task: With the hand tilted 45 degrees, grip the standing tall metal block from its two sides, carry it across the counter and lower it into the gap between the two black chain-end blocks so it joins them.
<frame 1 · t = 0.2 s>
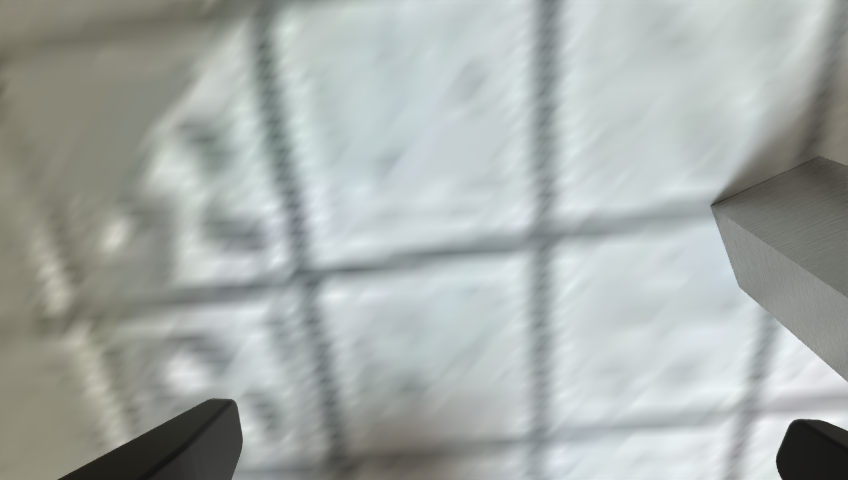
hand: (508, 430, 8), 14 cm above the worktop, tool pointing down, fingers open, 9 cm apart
tall metal block: (777, 225, 22), on the worktop
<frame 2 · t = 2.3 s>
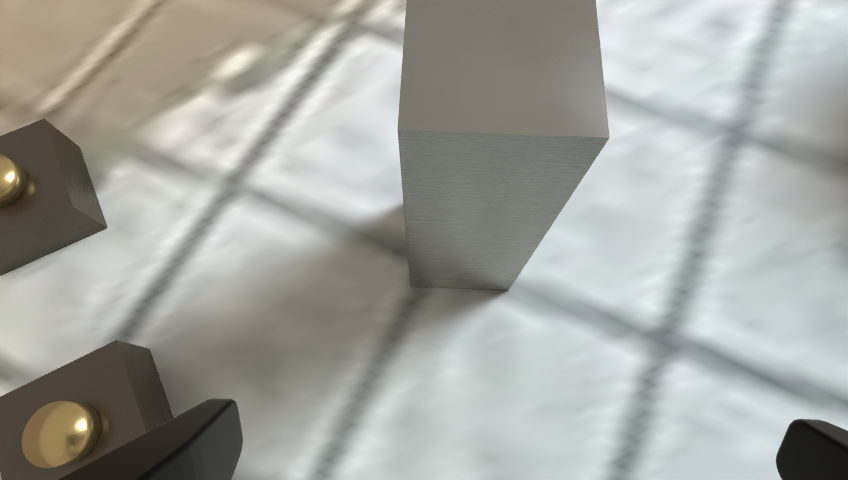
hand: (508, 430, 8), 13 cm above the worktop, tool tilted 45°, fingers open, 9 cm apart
tall metal block: (460, 242, 24), on the worktop
chain ends: (73, 311, 22), on the worktop
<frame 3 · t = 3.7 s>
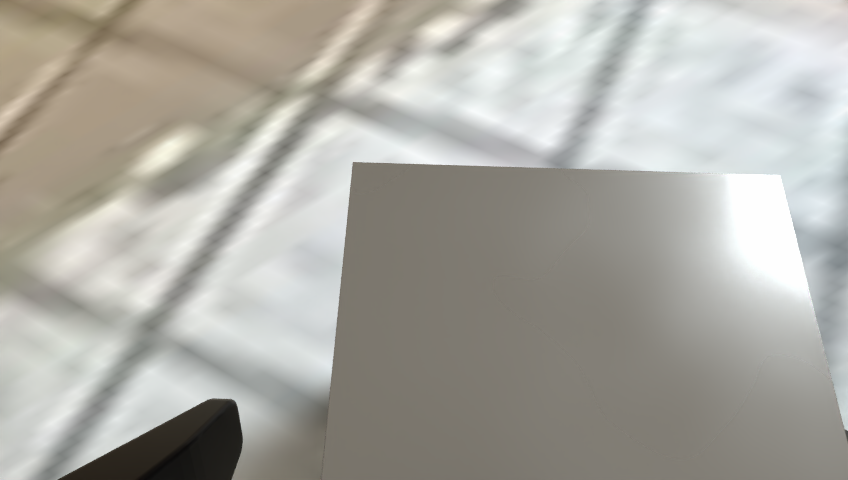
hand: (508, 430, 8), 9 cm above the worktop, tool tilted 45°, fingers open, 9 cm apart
tall metal block: (466, 421, 17), on the worktop
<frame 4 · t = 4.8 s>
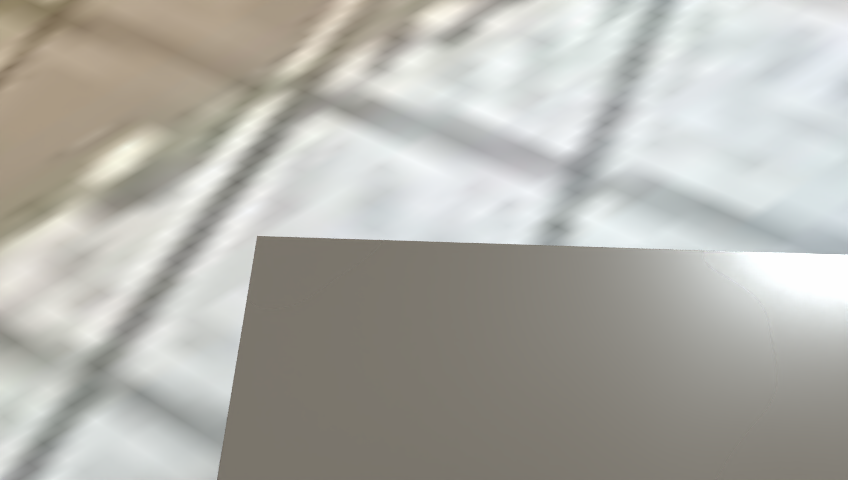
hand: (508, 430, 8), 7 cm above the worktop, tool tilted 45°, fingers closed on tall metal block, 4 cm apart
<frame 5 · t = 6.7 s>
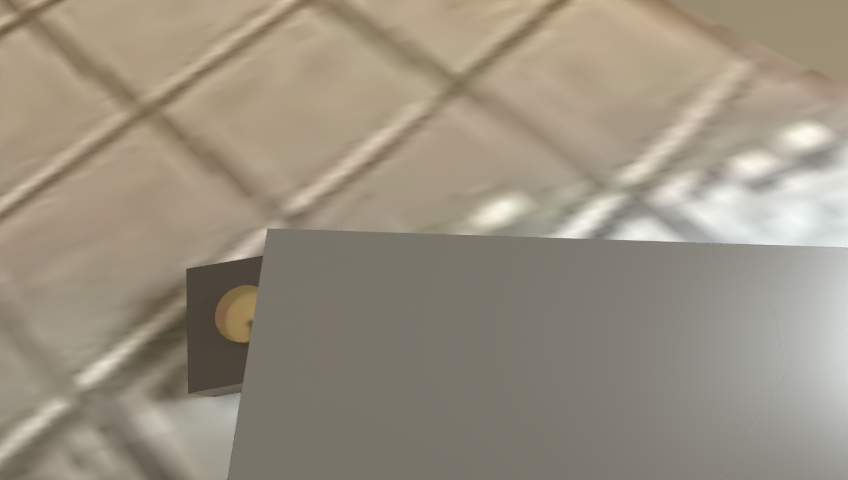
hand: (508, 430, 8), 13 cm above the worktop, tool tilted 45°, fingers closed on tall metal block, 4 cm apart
chain ends: (279, 467, 20), on the worktop
when the fingers open (8 cm above the worktop, at t = 8.5 s): tall metal block drops 1 cm, on the worktop.
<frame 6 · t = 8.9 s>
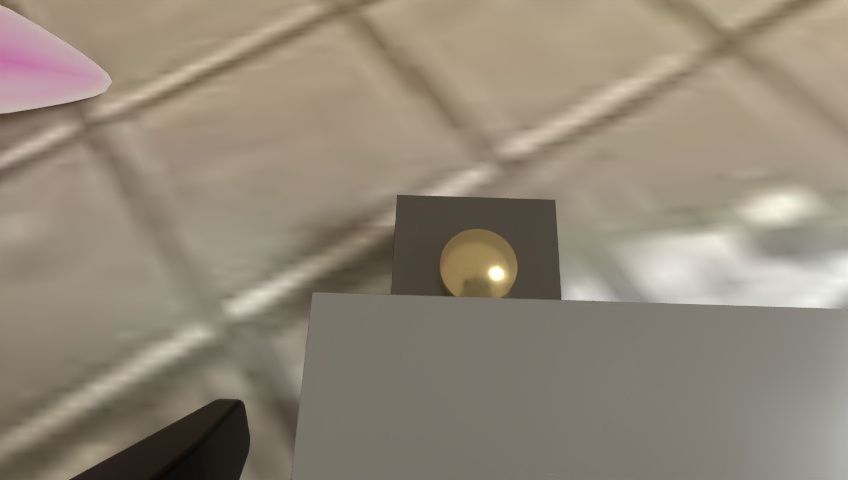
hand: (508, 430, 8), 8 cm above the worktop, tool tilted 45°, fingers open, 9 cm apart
tall metal block: (468, 474, 15), on the worktop
chain ends: (468, 477, 15), on the worktop
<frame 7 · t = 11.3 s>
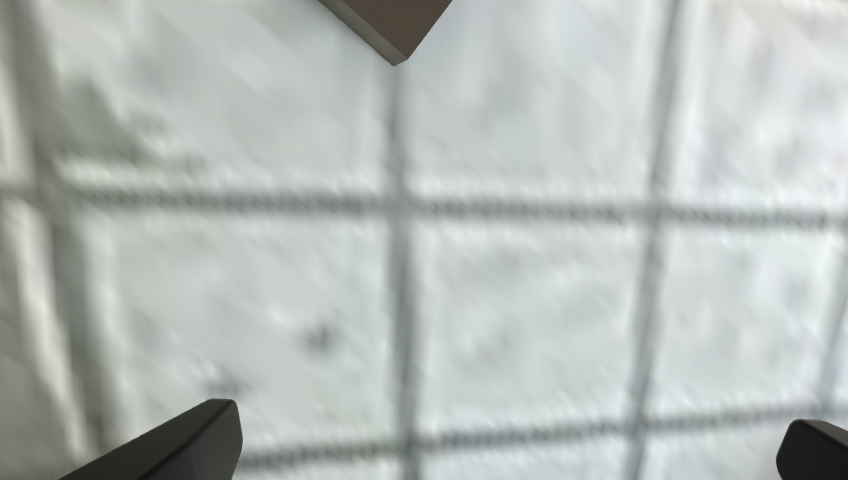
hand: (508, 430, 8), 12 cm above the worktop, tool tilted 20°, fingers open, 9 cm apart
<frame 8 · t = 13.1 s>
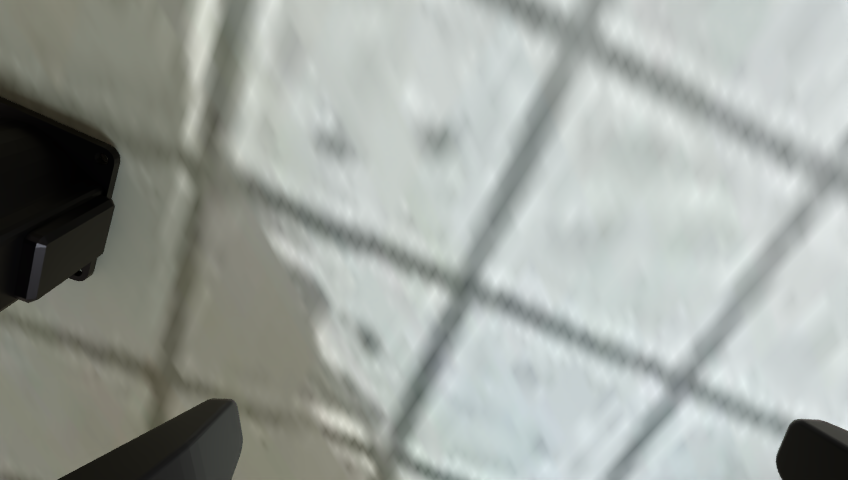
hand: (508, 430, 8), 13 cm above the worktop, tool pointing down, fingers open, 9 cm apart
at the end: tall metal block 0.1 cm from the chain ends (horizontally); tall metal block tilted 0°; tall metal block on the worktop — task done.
